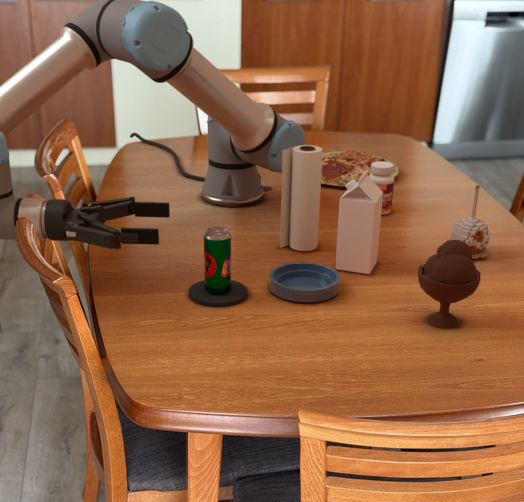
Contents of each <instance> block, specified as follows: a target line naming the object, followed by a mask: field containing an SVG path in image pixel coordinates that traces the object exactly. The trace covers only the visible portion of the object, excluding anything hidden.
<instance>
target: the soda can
mask: <svg viewBox="0 0 524 502" xmlns="http://www.w3.org/2000/svg"><path fill="white" fill-rule="evenodd" d="M203 272H204V273H203V280H204V288H205V290H206V291H207V292H208V293H210V294H214V295H222V294H226V293H228V292H229V291H230V289H231V280H232V234H231V233H230V229H229V228H228V227H226V226H220V225H216V226H209V227H207V228H206V229H205V232H204V234H203Z"/></svg>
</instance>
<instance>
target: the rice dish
mask: <svg viewBox="0 0 524 502" xmlns="http://www.w3.org/2000/svg"><path fill="white" fill-rule="evenodd" d="M374 162H389V163H392V164H393V173H392V174H391V175H392V176H393V177H394V178H396V177H397V176H398V175H399V171H400V170H399V167H398V165H397V164H396V163H394V162H393V161H391V160H389V159H388V158H385V157H383V156H378V155H377V154H375V153H371V152H367V151H355V150H353V149H352V148H351V149H350V150H347V151H346V150H337V151H325V152H322V170H321V185H326V186H327V185H328V186H329V185H330V186H335V187H346V186H345V185H346V184H347V183H348V182H350V181H351V180H353V179H355V181H356V182H358V181H359V179H360V178H361V177H362V175H363V174H364V173H365V172H366V171H367V170H368V174H367V176H369V175H370V174H371V173H372V172H371V164H372V163H374Z"/></svg>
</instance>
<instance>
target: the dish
mask: <svg viewBox="0 0 524 502" xmlns="http://www.w3.org/2000/svg"><path fill="white" fill-rule="evenodd" d="M270 270H271V271H270V272H269V274H268V277H269V278H268V287H269V290H270V292H271V293H273V295H275V296H276V297H279V298H280V299H283V300H287V301H291V302H297V303H298V302H299V303H318V302H323V301H326V300H327V301H328V300H330V299H332V298H334V297H335V296H336V295H338V294H339V292H340V289H341V279H342V278H341V275H340V272H338V270H337V269H335V268H333V267H330V266H328V265H325V264H322V263H317V262H309V261H295V262H288V263H283V264H280V265H278V266H275V267H274V268H273V269H270Z"/></svg>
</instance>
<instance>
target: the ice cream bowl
mask: <svg viewBox="0 0 524 502" xmlns="http://www.w3.org/2000/svg"><path fill="white" fill-rule="evenodd" d="M481 273H482V272H481V271H479V270H477V267H476V264H475V262H474V261H473V259H472V249H471V248H470V247H469V246H468V245H467V244H466V243H465V242H463V241H461V240H450V239H447V240H446V241H445V242H443V243H442V244H441V245H439V246H438V247H437V249H436V253H434V254H433V255H431V256H429V257H428V258H427V260H425V263H423V264H421V265H419V266H418V270H417V279H418V280H417V282H418V284H419V286H420V288H421V290H422V291H423V292H424V293H425V294H426V295H428V296H429V297H430V298H431V299H433V300H434V301H436V302H439V310H438V311H435V312H433V313H431V314H429V315H428V317H427V323H428V324H430V325H431V326H432V327H435V328H439V329H453V328H456V327H457V326H458V325H459V318H458V317H456V316H455V315H453V314H452V313H451V312H450V307H451V305H452V304H456V303H459V302H460V301H463V300H465V299H467V298H469V297H471V296H472V295H473V294H475V292H476V291H477V289H478V288H479V285H480V282H481V276H482V275H481Z"/></svg>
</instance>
